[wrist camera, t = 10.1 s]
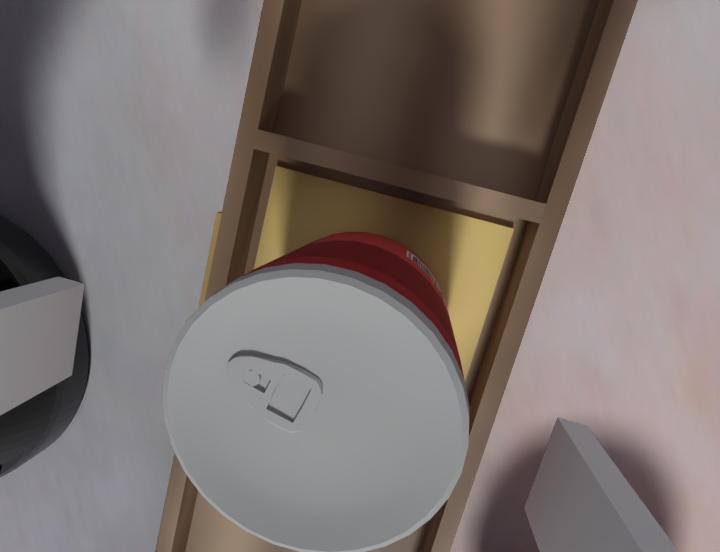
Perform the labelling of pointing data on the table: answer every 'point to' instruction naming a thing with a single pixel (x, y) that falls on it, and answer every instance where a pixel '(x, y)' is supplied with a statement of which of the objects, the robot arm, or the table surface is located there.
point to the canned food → (322, 397)
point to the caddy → (413, 176)
